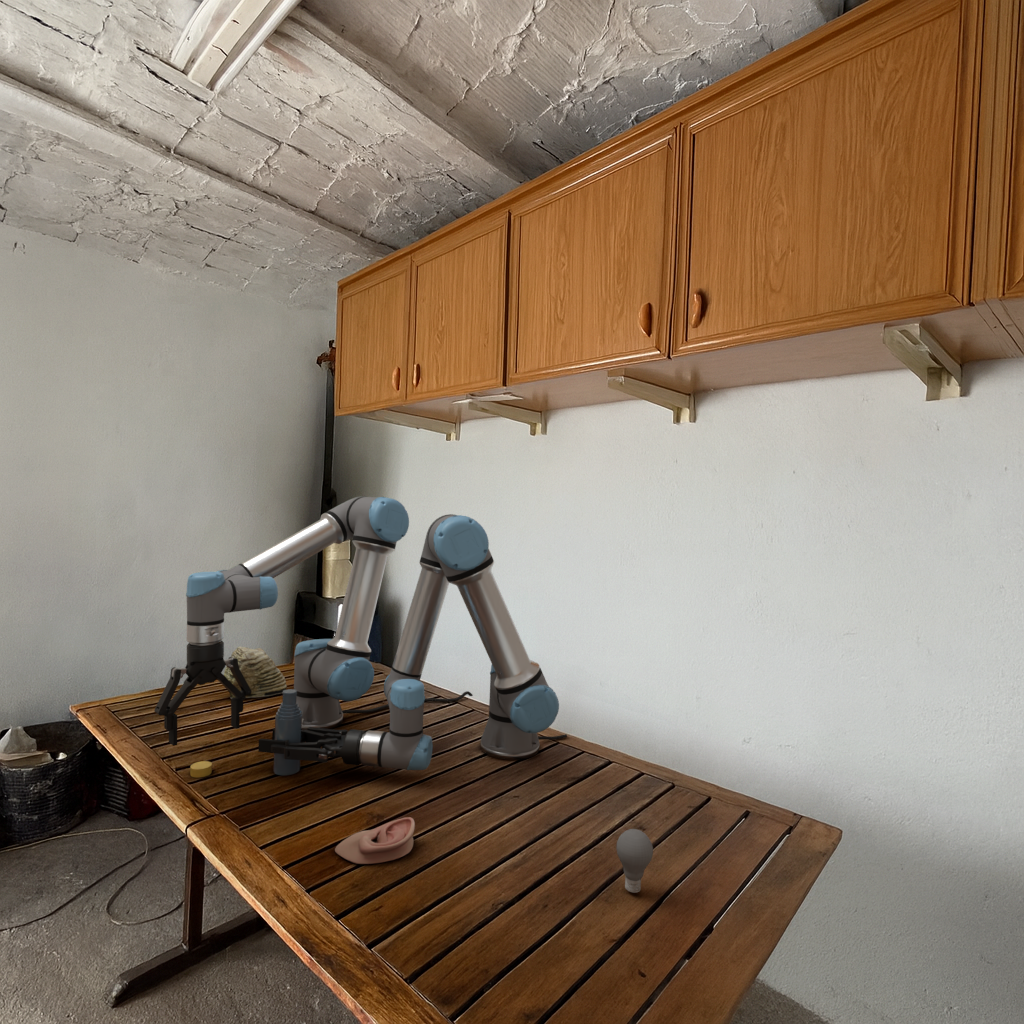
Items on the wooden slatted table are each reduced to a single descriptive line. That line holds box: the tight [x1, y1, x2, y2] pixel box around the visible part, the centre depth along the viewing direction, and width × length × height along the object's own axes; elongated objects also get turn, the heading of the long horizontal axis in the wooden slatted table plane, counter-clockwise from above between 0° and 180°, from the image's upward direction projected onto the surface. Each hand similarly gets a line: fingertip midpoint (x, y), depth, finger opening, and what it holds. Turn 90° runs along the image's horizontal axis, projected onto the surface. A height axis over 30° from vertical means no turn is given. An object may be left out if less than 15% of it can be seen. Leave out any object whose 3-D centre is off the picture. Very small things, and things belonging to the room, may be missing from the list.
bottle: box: [272, 688, 302, 776], centre depth 146 cm, size 6×6×18 cm
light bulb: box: [615, 828, 654, 894], centre depth 106 cm, size 6×6×10 cm
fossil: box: [223, 646, 288, 699], centre depth 198 cm, size 9×18×15 cm, turn 132°
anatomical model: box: [334, 816, 416, 865], centre depth 115 cm, size 13×4×12 cm
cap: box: [189, 760, 213, 779], centre depth 142 cm, size 4×4×2 cm
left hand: (205, 735), depth 143 cm, fingers open, 13 cm apart
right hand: (266, 739), depth 146 cm, fingers closed on bottle, 6 cm apart
